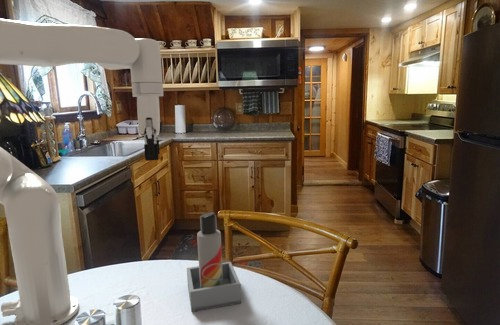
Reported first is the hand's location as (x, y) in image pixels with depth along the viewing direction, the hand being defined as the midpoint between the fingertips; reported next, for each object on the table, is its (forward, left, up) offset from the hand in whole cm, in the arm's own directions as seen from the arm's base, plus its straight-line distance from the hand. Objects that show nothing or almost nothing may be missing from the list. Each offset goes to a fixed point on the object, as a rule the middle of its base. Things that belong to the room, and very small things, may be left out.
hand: (152, 157), depth 88 cm
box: (+12, -14, -33) cm, 38 cm away
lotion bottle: (+12, -14, -33) cm, 37 cm away
